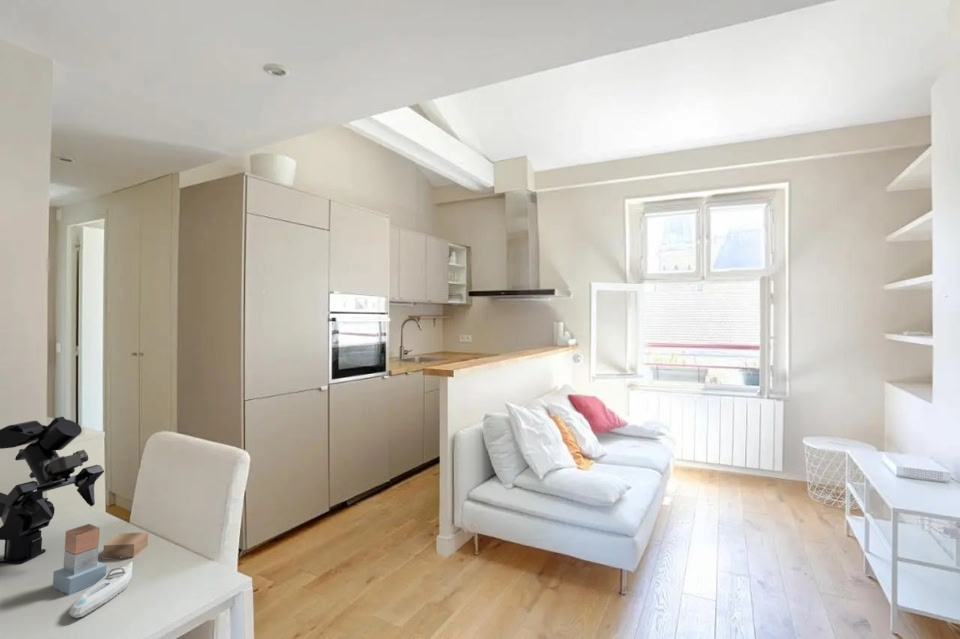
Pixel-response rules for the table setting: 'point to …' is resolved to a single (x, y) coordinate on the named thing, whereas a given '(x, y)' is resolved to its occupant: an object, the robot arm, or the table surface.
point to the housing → (81, 549)
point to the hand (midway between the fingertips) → (72, 511)
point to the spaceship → (102, 591)
